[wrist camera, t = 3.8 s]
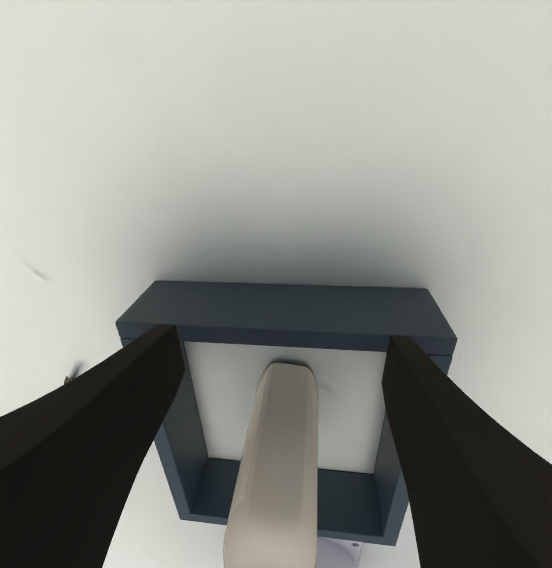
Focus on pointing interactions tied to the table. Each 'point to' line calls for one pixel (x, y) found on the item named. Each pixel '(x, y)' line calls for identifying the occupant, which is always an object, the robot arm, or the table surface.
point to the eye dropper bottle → (277, 476)
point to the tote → (290, 333)
